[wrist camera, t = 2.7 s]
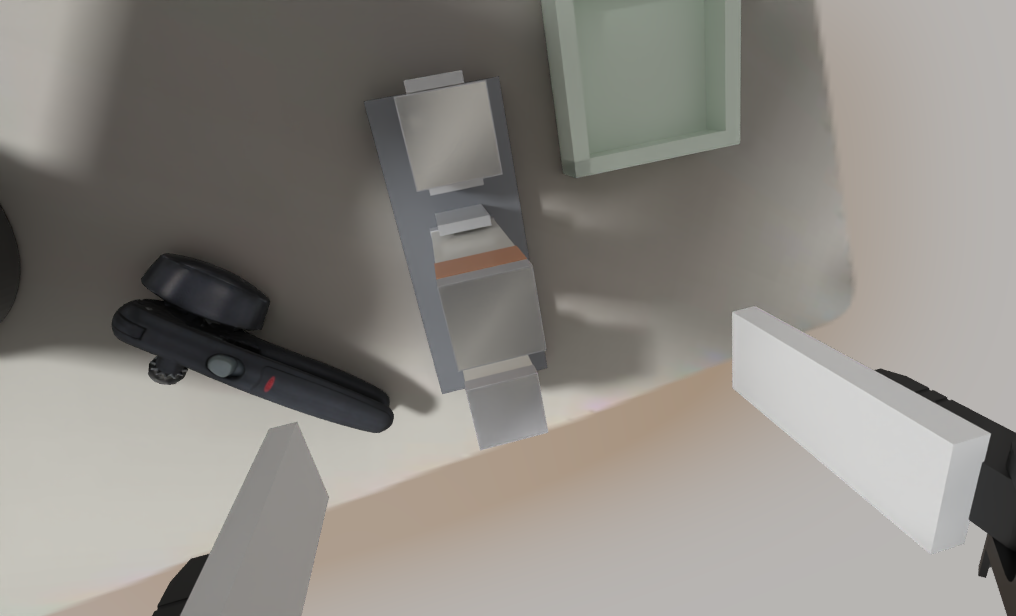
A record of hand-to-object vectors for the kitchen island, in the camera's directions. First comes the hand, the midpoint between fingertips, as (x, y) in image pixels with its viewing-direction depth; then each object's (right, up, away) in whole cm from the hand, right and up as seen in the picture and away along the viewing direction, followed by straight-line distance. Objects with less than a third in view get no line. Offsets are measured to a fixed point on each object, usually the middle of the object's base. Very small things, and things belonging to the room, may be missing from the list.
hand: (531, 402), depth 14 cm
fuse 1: (-5, +13, +15) cm, 21 cm away
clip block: (-4, +7, +19) cm, 21 cm away
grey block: (-2, 0, +21) cm, 21 cm away
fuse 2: (-3, +7, +18) cm, 19 cm away
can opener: (-17, 0, +20) cm, 26 cm away
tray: (+7, +18, +17) cm, 26 cm away
